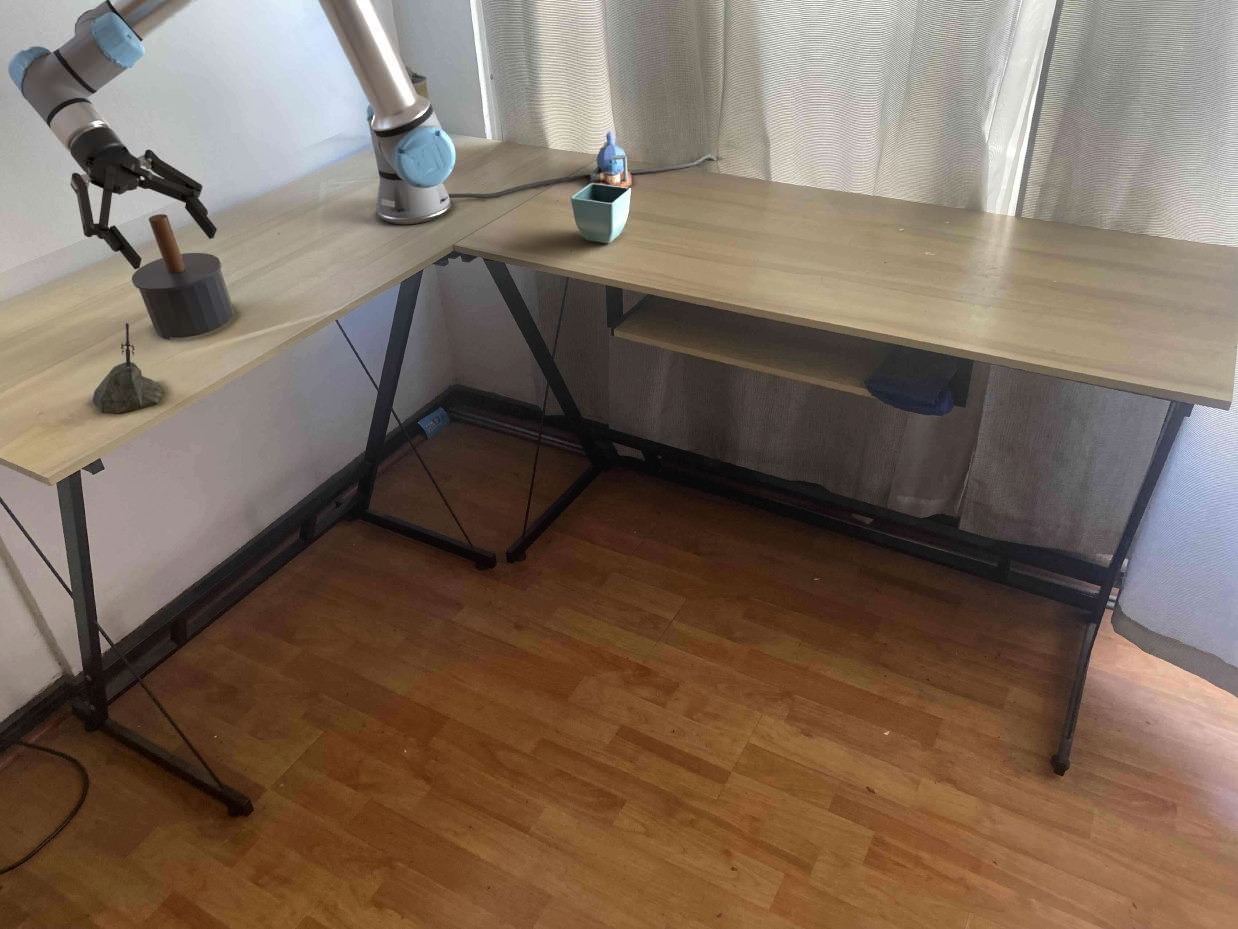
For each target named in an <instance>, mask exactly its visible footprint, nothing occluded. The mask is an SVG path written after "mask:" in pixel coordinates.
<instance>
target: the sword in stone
mask: <svg viewBox="0 0 1238 929" xmlns="http://www.w3.org/2000/svg"><path fill="white" fill-rule="evenodd" d="M125 338H126V339H125V343H124V342H122V343H121V344H120V346H121V347H120V349H121V350H122V351H121V354H122V355H124V352H125V362H123V363H119V364H118V365H115V366H113V367H112V369H111V370H110V371H109V373H108V374H106V376H105V377H104V378H103V380H102V381H101V382H100V383H99V385H98V386H97V387H96V388H95V389H94V393H93V396H92V403H93V405H95V407H96V408H97V409H98V410H99V411H100V413H109V414H123V413H128V412H131V411H132V412H133V411H137V410H140V409H144V408H147V407H151V406H155V405H158V404H159V403H160V401H161V399H162V397H163V394H164V390H163V388H162V386H161V384H160V382H158V381H155V380H153V379H152V378H150V377H146V376H143V375H142V370H141V369H140V368H139V367H138V365H137V364H136V363H135V362H131V354H132V356H134V355H135V346H134V344H133V343H132V344H131V342H130V324H129V322H125ZM124 347H126V348H125V350H124ZM130 348H132V349H130Z"/></svg>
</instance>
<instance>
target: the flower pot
mask: <svg viewBox="0 0 1238 929" xmlns="http://www.w3.org/2000/svg"><path fill="white" fill-rule="evenodd" d="M631 192H632V189H631V188H630V187H618V186H610V185H603V184H595V183H591V184H590V183H589V184H587V185H586V186H584V187H583V188H582V189H581V190H579V191H577V193H576V192H575V194H574V195H572V196H571V197H570V201H571V202H570V203H571V207H572V212H573V218H574V222H575V224H576V227H577V229H578V231H579V233H580V234H581V236H582V237H583V238H584V239H585V240H586V241H589V242H597V243H601V244H603V243H604V244H611V243H612V242H613V241H614V240H615V239H616V238H617V237H618V236H620V234H621V233H622V231H623V229H624V227H625V225H626V223H627V220H628V216H629V211H630V201H631Z"/></svg>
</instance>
